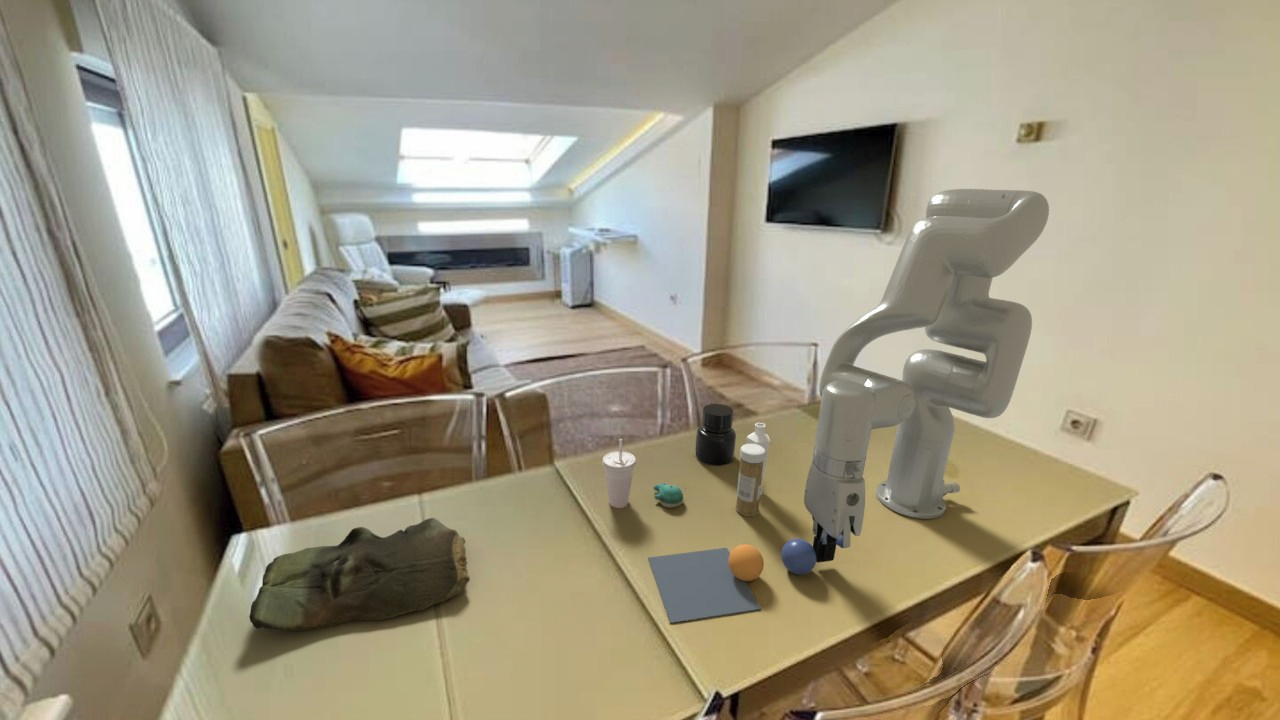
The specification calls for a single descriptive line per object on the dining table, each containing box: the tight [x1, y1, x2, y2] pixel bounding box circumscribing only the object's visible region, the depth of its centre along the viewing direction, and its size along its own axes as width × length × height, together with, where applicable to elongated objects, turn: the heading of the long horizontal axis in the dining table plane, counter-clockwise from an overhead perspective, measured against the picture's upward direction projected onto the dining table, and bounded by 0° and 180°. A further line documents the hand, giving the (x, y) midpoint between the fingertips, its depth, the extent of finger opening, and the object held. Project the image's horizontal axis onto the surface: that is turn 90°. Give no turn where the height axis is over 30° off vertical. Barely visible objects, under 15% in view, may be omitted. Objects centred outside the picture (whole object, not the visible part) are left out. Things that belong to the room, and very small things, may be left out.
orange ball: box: [729, 543, 765, 582], centre depth 84 cm, size 6×6×6 cm
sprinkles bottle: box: [735, 443, 765, 517], centre depth 100 cm, size 5×5×14 cm
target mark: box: [647, 547, 762, 624], centre depth 83 cm, size 14×14×1 cm
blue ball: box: [780, 537, 817, 576], centre depth 85 cm, size 6×6×6 cm
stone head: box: [248, 517, 471, 632], centre depth 81 cm, size 19×8×28 cm
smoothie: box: [602, 438, 637, 509], centre depth 101 cm, size 6×6×14 cm
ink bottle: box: [695, 403, 737, 466], centre depth 120 cm, size 10×9×12 cm
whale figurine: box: [653, 483, 684, 509], centre depth 104 cm, size 6×7×4 cm
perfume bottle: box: [746, 422, 771, 496], centre depth 106 cm, size 5×4×15 cm
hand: (822, 558), depth 87 cm, fingers closed
